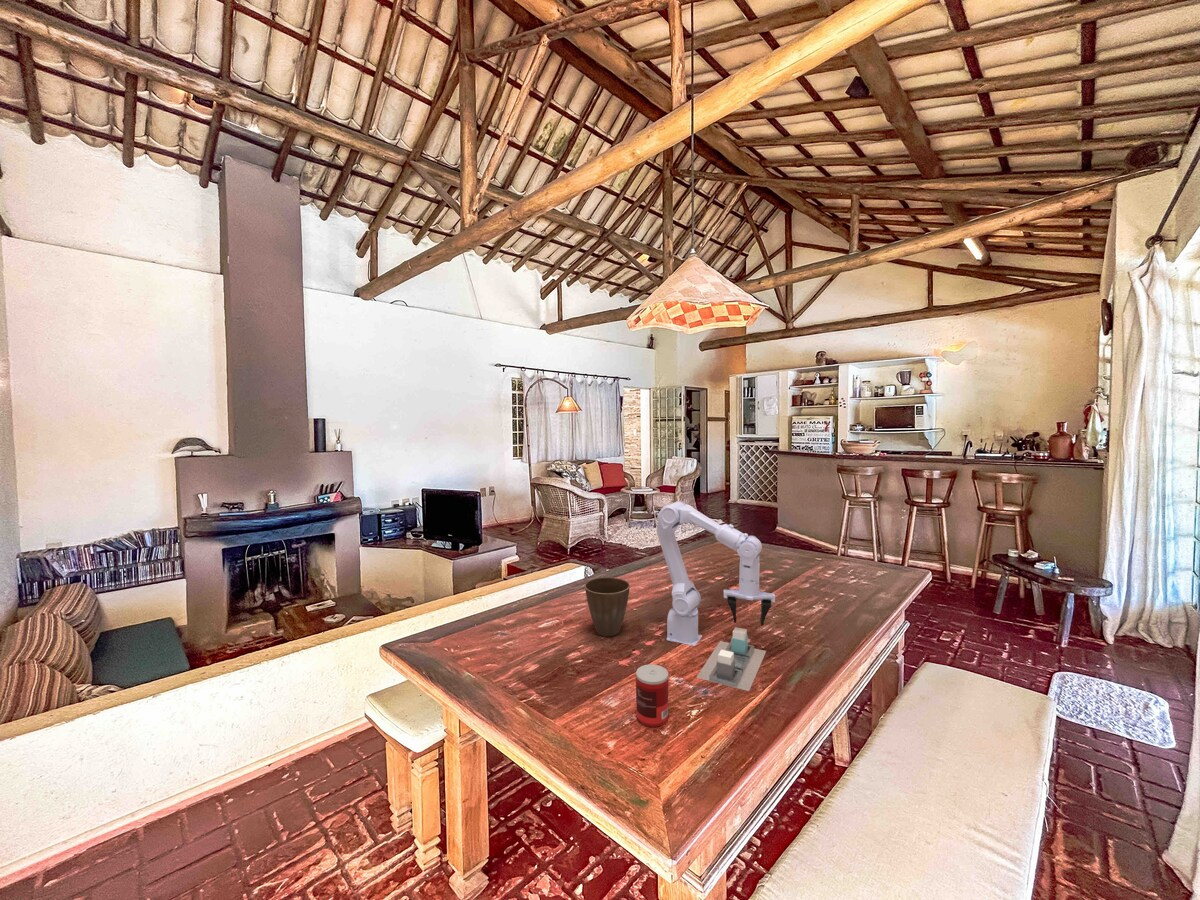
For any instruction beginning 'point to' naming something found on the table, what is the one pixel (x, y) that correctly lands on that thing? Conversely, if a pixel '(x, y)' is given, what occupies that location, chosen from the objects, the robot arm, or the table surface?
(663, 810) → the table surface
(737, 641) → the plug
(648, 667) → the canned food
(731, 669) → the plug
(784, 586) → the table surface
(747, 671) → the panel
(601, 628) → the plant pot
